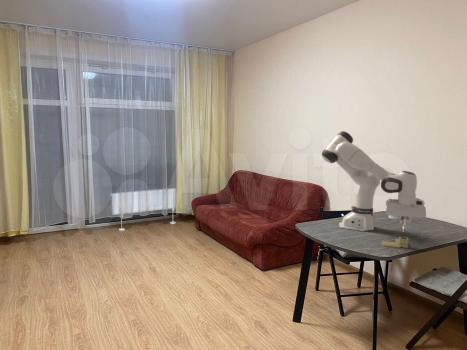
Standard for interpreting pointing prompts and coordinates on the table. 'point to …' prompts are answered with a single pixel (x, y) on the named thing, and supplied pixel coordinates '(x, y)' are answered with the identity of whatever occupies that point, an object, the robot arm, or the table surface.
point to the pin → (404, 224)
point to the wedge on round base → (394, 217)
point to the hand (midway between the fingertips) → (404, 224)
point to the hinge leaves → (397, 243)
